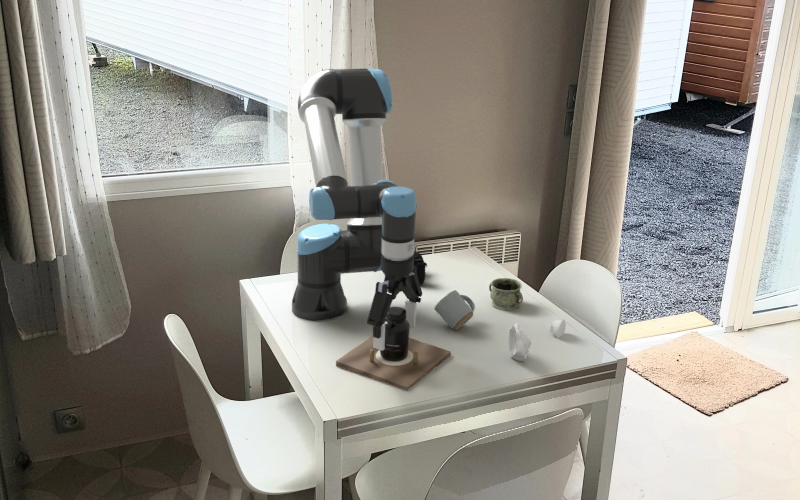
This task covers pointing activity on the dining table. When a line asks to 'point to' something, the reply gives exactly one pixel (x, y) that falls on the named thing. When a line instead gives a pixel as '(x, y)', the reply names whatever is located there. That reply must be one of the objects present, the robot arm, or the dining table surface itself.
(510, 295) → the vessel
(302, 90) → the robot arm
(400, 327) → the supplement bottle
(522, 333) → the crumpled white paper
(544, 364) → the dining table surface
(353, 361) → the pin board
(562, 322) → the white irregular lump
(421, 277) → the film camera
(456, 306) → the ceramic mug
